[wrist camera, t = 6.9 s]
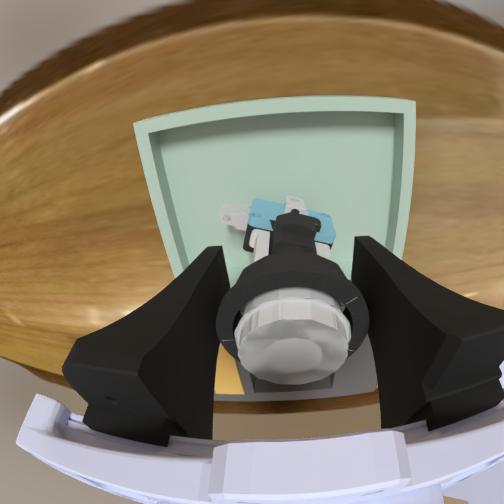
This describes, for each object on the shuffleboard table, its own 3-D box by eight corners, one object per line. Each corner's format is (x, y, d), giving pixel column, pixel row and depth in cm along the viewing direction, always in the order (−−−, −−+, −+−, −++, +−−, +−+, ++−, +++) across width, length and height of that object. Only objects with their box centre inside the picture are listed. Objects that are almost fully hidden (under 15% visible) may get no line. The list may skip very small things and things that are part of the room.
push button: (217, 241, 18) (170, 374, 10) (230, 161, 16) (170, 264, 7) (317, 263, 19) (335, 401, 10) (344, 188, 16) (405, 310, 7)
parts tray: (401, 98, 14) (415, 101, 12) (389, 259, 20) (398, 275, 19) (146, 118, 16) (133, 123, 14) (185, 273, 22) (178, 289, 21)
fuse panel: (397, 278, 21) (407, 300, 19) (370, 373, 29) (374, 392, 27) (180, 292, 23) (171, 315, 21) (214, 382, 31) (211, 401, 29)
